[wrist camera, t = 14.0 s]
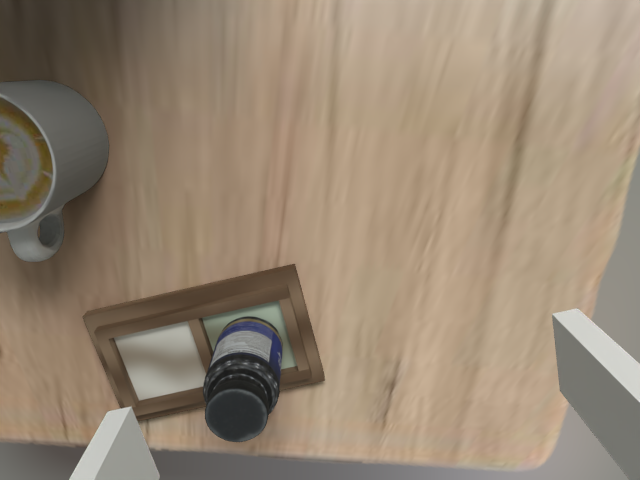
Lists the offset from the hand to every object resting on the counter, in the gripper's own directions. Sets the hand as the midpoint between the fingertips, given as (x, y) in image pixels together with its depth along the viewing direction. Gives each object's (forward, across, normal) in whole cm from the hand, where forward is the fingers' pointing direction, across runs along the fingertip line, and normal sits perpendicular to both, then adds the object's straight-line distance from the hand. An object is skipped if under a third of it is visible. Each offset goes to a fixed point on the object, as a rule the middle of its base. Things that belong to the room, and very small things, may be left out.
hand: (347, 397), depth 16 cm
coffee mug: (+32, -22, +7) cm, 39 cm away
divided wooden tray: (+32, -14, -13) cm, 37 cm away
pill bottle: (+31, -10, -13) cm, 35 cm away
